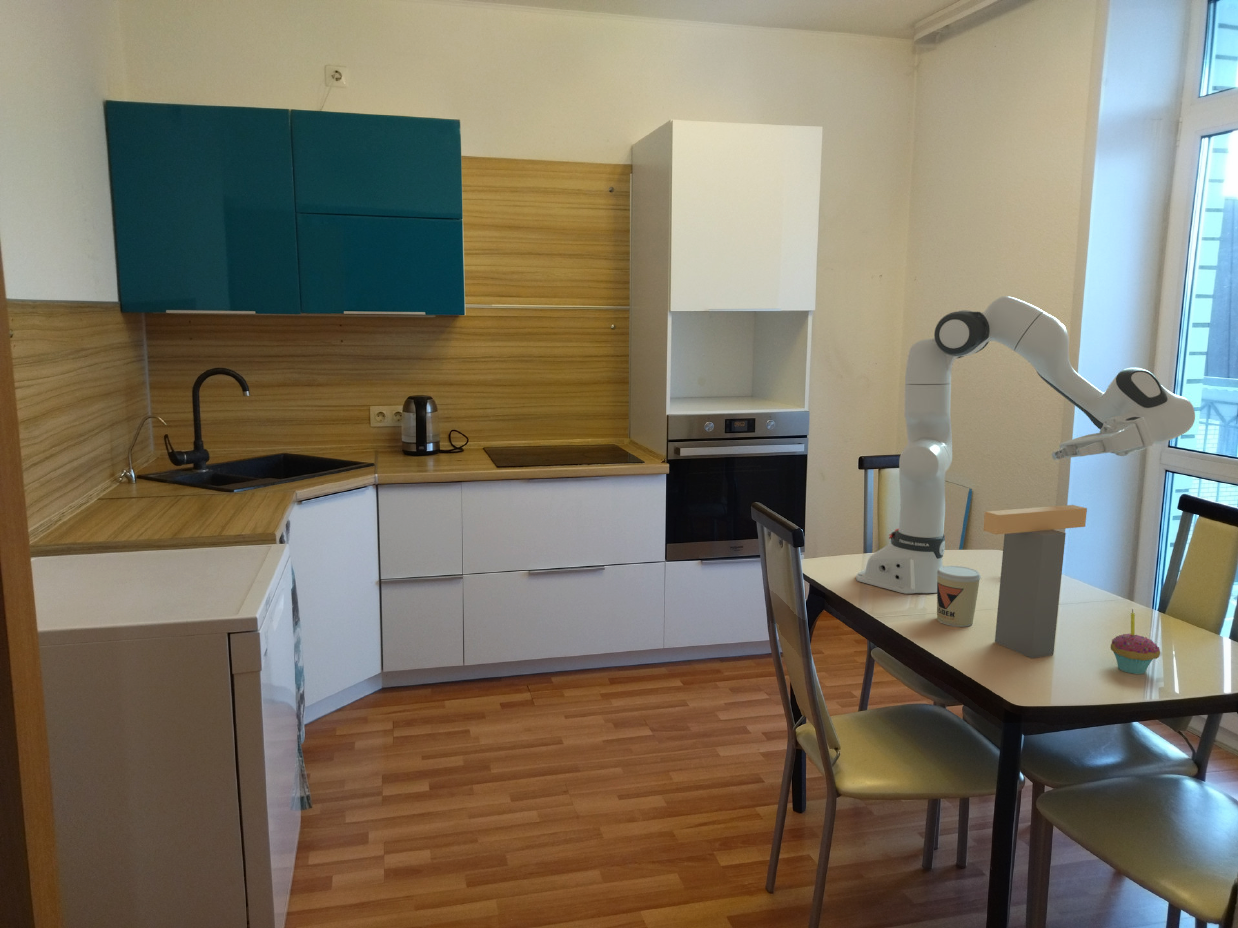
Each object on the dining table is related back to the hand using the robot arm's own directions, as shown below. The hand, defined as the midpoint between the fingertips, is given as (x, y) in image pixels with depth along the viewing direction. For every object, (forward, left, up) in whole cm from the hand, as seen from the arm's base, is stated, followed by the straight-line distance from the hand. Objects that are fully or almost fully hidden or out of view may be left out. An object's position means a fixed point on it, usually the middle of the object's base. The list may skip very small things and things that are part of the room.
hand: (1066, 454), depth 194 cm
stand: (-1, -17, -40) cm, 43 cm away
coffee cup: (-18, -9, -40) cm, 45 cm away
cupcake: (+19, -15, -40) cm, 47 cm away
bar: (-1, -17, -14) cm, 22 cm away
